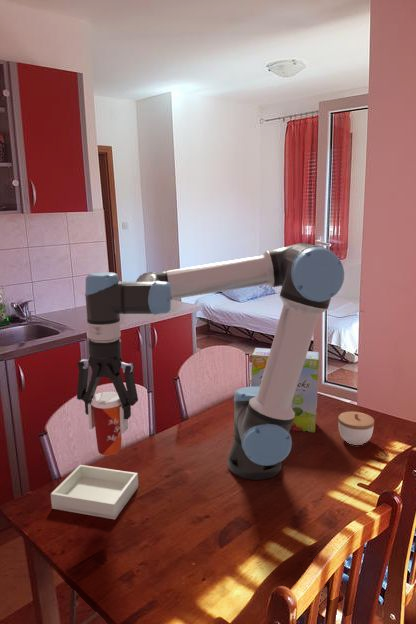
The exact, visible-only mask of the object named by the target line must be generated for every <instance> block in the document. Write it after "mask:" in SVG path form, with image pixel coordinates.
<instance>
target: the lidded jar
mask: <svg viewBox="0 0 416 624" xmlns="http://www.w3.org/2000/svg"><path fill="white" fill-rule="evenodd" d="M337 418H338V423H337V424H338V431H339V434H340V436H341V438H342V439H343V440H344V442H345V441H346V442H347V443H349V444H353V445H362V444H364V443H365V444H366V443H368V442H369V441H370V440H371V437H372V435H373V432H374V426H375V419H374V417H372V416H371V415H369V414H367V413H363V412H360V411H345V412H342V413H340V414H338V417H337ZM346 442H345V443H346ZM347 443H346V444H347ZM349 444H348V445H349ZM365 444H364V445H365ZM353 445H352V446H353ZM362 446H363V445H362Z"/></svg>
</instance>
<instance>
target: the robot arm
mask: <svg viewBox="0 0 416 624" xmlns="http://www.w3.org/2000/svg"><path fill="white" fill-rule="evenodd" d="M344 280H345V270H344V265H343V263H342V261H341V259H340V258H339V257H338V256H337V255H336V254H335V252H333V251H332V250H330V249H329V248H326V247H324V246H319V245H314V244H312V243H307V242H301V243H296V244H295V243H294V244H291V245H288V246H283V247H280V248H279V247H278V248H275V249H270V250H265V252H264V253H263V254H262V255H258V256H252V257H251V256H250V257H245V258H239V259H233V260H226V261H221V262H212V263H207V264H201V265H196V266H189V267H182V268H178V269H176V268H175V269H169V270H167V271H158V272H154V271H149V272H148V271H147V272H144V273H142V274H141V275H139V276H138V277H137V279H136V280H135V281H121V280H120V278H119V274H117V273H115V272H113V271H112V272H111V271H110V272H108V271H104V272H103V271H102V272H99V271H98V272H92V273H88V274H87V276H86V277H85V293H84V296H85V307H86V308H85V309H86V321H87V322H86V323H87V324H86V325H87V326H86V327H87V338H88V339H89V340H88V341H87V344H88V347H87V348H88V356H89V357H88V359H86V358H82V359H81V360H79V361H77V368H78V378H77V379H78V380H77V381H78V382H77V389H76V390H77V392H76V399H77V400H78V401H83V402H84V409H85V415H87V416H88V428H89V430H93V429H94V428H95V422H94V413H93V406H92V405H91V402H92V400H93V397H94V396H95V395H96V394H95V393H96V391H97V388H98V385H99V383H100V380H101V378H106V379H109V380H110V382H111V383H112V384H113V387H114V389H115V391H116V392H117V394H118V396H119V399H120V401H121V403H122V406H121V407H120V430H121V433H122V434H125V432H126V431H127V430H128V429H129V419H130V418H131V416H132V411H131V410H132V409H131V407H133V406H134V405H136V404H137V402H139V397H138V393H137V387H136V386H137V385H136V381H135V375H134V369H135V364H134V362H130V363H127V362H124V361H123V358H122V339H121V334H122V333H121V317H120V315H128V314H129V315H136V314H137V315H158V314H159V315H160V314H168V313H170V311H171V305H172V303H171V302H172V300H177V299H183V298H190V297H195V296H201V295H207V294H216V293H220V292H226V291H232V290H233V291H234V290H240V289H245V288H251V287H258V286H264V285H267V286H269V287H270V288H278V287H281V289H280V293H279V298H280V299H281V301H282V303H283V304H282V305H283V306H282V309H281V313H280V316H279V319H278V323H277V326H276V330H275V334H274V337H273V340H272V344H271V346H270V347H271V348H270V349H271V350H270V353H269V357H268V360H267V364H266V367H265V371H264V374H263V378H262V381H261V384H260V387H256V386H254V387H251V386H244V387H241V388H239V389H237V390H235V392H234V397H233V402H234V406H233V408H234V411H233V412H234V413H233V414H234V415H233V417H234V421H233V426H234V427H233V428H234V429H233V434H234V435H233V438H234V439H233V442H232V444H231V448H230V451H229V454H228V458H227V467H228V469H229V470H230V472H231V473H232V474H234V475H235V476H237V477H239V478H242V479H245V480H253V481H257V480H259V481H260V480H267V479H271V478H274V477H275V476H276V475H278V474H279V473H280V471H281V470H282V462H283V461H284V460H285V459H286V458H287V457H288V456H289V455H290V453H291V450H292V445H293V441H292V435H291V434H290V433H291V430H290V429H291V426H292V423H293V419H294V416H295V413H294V411H293V409H292V408H291V404H292V401H293V398H294V395H295V391H296V388H297V385H298V382H299V378H300V375H301V372H302V368H303V365H304V362H305V359H306V355H307V352H308V351H309V348H310V346H311V342H312V339H313V335H314V332H315V328H316V325H317V322H318V319H319V316H320V315H321V314H322V313H324V312H326V311H327V310H328V309H329V307H330V306H329V305H330V303H331V300H332V298H333V297H334V296H336V295H337V294H338V293H339V291H340V290H341V289H342V286H343V284H344ZM89 368H91V369H92V372H91V373H92V374H91V376H90V381H89V379H88V378H89ZM120 369H122V372H123V373H124V380H123V378H122V373H121V371H120ZM88 381H89V385H88ZM124 381H125V384H124Z"/></svg>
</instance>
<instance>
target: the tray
mask: <svg viewBox="0 0 416 624" xmlns="http://www.w3.org/2000/svg"><path fill="white" fill-rule="evenodd" d="M138 488H139V473H138V472H133V471H127V470H126V471H124V470H118V469H111V468H105V467H99V466H91V465H86V464H85V465H84V464H79V465H78V466H77V467H76V468H75V469H74V470H73V471H72V472H71V473H70V474H69V475H68V476H66V478H65V479H64V480H63V481H62V482H61V483H60V484H59V485H58V486H57V487H56V488H55V489H54V490H53V491H52V492H51V493H50V501H51V509H54V510H58V511H64V512H70V513H76V514H82V515H86V516H87V515H88V516H92V517H99V518H105V519H111V520H116V519H117V517H118V516H119V515H120V513H121V512H122V510H123V509H124V508H125V506H126V505H127V503H128V502H129V500H130V499H131V498H132V496H133V495H134V494H135V492H136V491H137V489H138Z"/></svg>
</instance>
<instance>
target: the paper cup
mask: <svg viewBox="0 0 416 624" xmlns="http://www.w3.org/2000/svg"><path fill="white" fill-rule="evenodd" d="M91 405H92V406H93V413H94V422H95V427H94V428H95V429H94V430H95V437H96V439H95V440H96V446H97V451H98V453H99V454H100V455H102V456H112V455H116V454H118V453H120V451H121V450H122V434H123V433H121V430H120V407H121V406H122V403H121V401H120V399H119V396H118V394H117V392H115V391H104V392H99V393H96V394H94V396H93V399H92V402H91Z"/></svg>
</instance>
